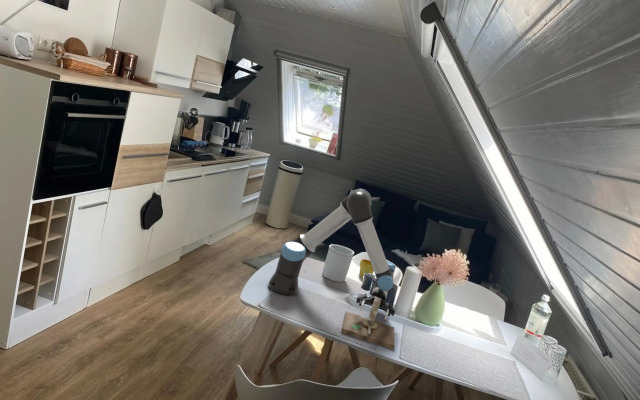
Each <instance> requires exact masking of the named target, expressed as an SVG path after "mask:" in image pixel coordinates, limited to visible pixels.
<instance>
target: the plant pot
mask: <svg viewBox="0 0 640 400" xmlns="http://www.w3.org/2000/svg"><path fill="white" fill-rule="evenodd" d="M359 266H360V267H359V274H358V275H360V276H361V277H360V276H359V277H360V278H362V279H364V278H363V276H364V273H371V274H372V275H373V274H374V270H373V267H372V265H371V262H370V259H366V258H361V260H360V263H359Z"/></svg>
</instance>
